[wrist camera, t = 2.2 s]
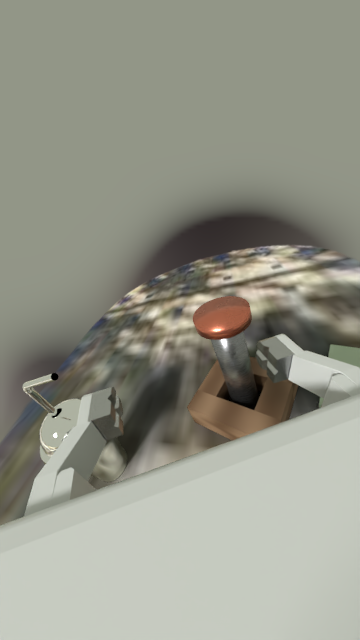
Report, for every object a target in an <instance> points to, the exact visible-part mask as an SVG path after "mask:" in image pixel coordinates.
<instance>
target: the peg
mask: <svg viewBox="0 0 360 640" xmlns="http://www.w3.org/2000/svg"><path fill="white" fill-rule="evenodd" d="M251 320H252V316H251V311H250V306H249V303H248V302H247V301H246V300H245V299H243V298H240V297H234V296H228V297H221V298H217V299H214V300H211V301H209V302H207V303H205V304H203V305H202V306H201V307H199V308H198V309H197V310H196V312H195V313H194V315H193V322H194V324H195V327H196V330H197V332H198V334H199V335H201V336H202V337H204V338H206V339H211V342H212V344H213V347H214V350H215V353H216V356H217V359H218V362H219V365H220V368H221V371H222V374H223V377H224V380H225V382H226V385H227V388H228V391H229V394H230V397H231V400H232V402H233V403H235V404H238V405H241V406H243V407H246V408H249V409H252V410H255V407H256V405H257V402H258V400H259V396H258V392H257V387H256V383H255V379H254V374H253V370H252V366H251V361H250V357H249V353H248V348H247V344H246V339H245V335H244V330H245V329H246V328H247V327H248V326H249V325H250V323H251Z"/></svg>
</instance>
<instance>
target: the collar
mask: <svg viewBox="0 0 360 640" xmlns="http://www.w3.org/2000/svg"><path fill="white" fill-rule="evenodd" d="M250 361H251V366H252V370H253V374H254V379H255V383H256V387H257V391H261V395H260V397H259V400H258V402H257V405H256V407H255V410H252V409H249V408H246V407H243V406H241V405H238V404H235V403H233V402H230V401H228V400H229V398H230V394H229V391H228V388H227V385H226V382H225V380H224V377H223V374H222V371H221V368H220V365H219V362H218V359H217V361H216V362H215V364H214V365H213V367H212V369H211V370H210V372H209V373H208V375H207V376H206V378H205V380H204V381H203V383H202V384H201V386H200V388H199V389H198V391H197V392H196V394H195V395H194V397H193V399H192V400H191V402H190V403H189V405H188V407H187V408H188V410H189V412H190V413H191V415H192V417H193V419H194V421H195V422H196V423H198V424H200V425H202V426H204V427H206V428H208V429H210V430H212V431H214V432H216V433H218V434H220V435H222V436H224V437H226V438H228V439H230V440H235V439H238V438H240V437H243V436H246V435H249V434H251V433H254V432H257V431H260V430H262V429H265V428H268V427H271V426H273V425H276V424H279V423H281V422H284V421H287V420H289V417H290V413H291V410H292V406H293V403H294V399H295V396H296V392H297V388H298V385H297V384H295V383H293V382H292V381H290V380H288V379H286V380H283V381H280V382H277V383H273V382H272V380H271V379H270V378H269V377H268V376H267V371H266V370H264V369H262V368H261V367H260V366H259V364H258V362H257V359H256V358H254V357H250Z"/></svg>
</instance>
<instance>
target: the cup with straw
mask: <svg viewBox="0 0 360 640" xmlns="http://www.w3.org/2000/svg"><path fill="white" fill-rule="evenodd" d="M57 379H58V375H57V374H56V373H53V374H50V375H47V376H44V377H41V378H38V379H35V380H32V381H28V382H26V383H24V384H23V390H24V391H25V392H26V393H27V394H28V395H29V396H30V397H32V398H33V399H34V400H35V401H36V402H37V403H38V404H39V405H41V406H42V407H43V408H44V409H45V410H46V411H47V412H49V413H48V414H47V416H46V417H45V419H44V421H43V422H42V425H41V428H40V433H39V438H40V443H41V446H40V456H41V459H42V460H43V461H44V463H45V464H46V463H47V462H48V461H49V459H50V458H51V456H52V455H53V454H54V452H55V451H56V450H57V448H58V447H59V446H60V444H61V443H62V442H63V440H64V439H65V438H66V436H67V435H68V434H69V432H70V431H71V430H72V428H73V427H75V426H77V420H78V415H79V409H80V404H81V399H82V398H72V399H68V400H65V401H63V402H61V403H59V404H58V405H56V406H55V407H53V406H52V405H51V404H50V403H49V402H48V401H47V400H45V399H44V398H43V397H42V396H41V395H40V394H39V393H38V392H37V391H35V389H33V388H32V387H35V386H38V385H41V384H45V383H48V382H52V381H55V380H57ZM126 464H127V453H126V451H125V450H124V449H123V447H122V445H121V444H120V442H119V441H118V439H117V438H116V437H115V438H113V439H110V440H107V441H106V444H105V446H104V449H103V451H102V453H101V455H100V457H99V459H98V461H97V463H96V465H95V467H94V469H93V471H92V474H91V476H93V477H95V478H97V479H99V480H102V481H104V482H107V483H109V482H112V481H114V480H116V479H117V478H118V477H119V476H120V475H121V474H122V473H123V471H124V469H125V467H126Z"/></svg>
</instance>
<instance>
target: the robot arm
mask: <svg viewBox="0 0 360 640" xmlns="http://www.w3.org/2000/svg"><path fill="white" fill-rule="evenodd" d="M256 347H257V348H258V351H257V352H256V359H257V362H258V364H259V366H260V367H261V368H262V369H264V370H266V371H267V376H268V377H269V378H270V379H271V380H272V382H273V383H277V382H280V381H283V380H286V379H288V380H290V381H292V382H293V383H295V384H297V385H299V386H301V387H303V388H305V389H307V390H308V391H310V392H312V393H314V394H316V395H318V396H320V397H322V398H323V399H324V400H323V403H322V405H321V408H320V409H317V410H314V411H312V412H309V413H306V414H303V415H301V416H298V417H295V418H292V419H290V420H287V421H284V422H281V423H279V424H276V425H273V426H271V427H268V428H265V429H262V430H260V431H257V432H254V433H251V434H249V435H246V436H243V437H240V438H238V439H235V440H232V441H230V442H227V443H224V444H221V445H219V446H216V447H213V448H210V449H208V450H205V451H202V452H199V453H197V454H194V455H191V456H189V457H186V458H183V459H180V460H178V461H175V462H172V463H170V464H167V465H164V466H161V467H159V468H156V469H153V470H150V471H148V472H145V473H142V474H140V475H137V476H134V477H131V478H129V479H126V480H123V481H120V482H118V483H115V484H112V485H109V486H107V487H104V488H101V489H99V490H96V489H95V488H94V487H93V486H92V485H90V484H89V483H88V480H89V478H90V476H91V474H92V471H93V469H94V467H95V465H96V463H97V461H98V459H99V457H100V455H101V453H102V451H103V449H104V446H105V444H106V441H107V440H110V439H113V438H115V437H118V436H121V435H123V421H122V420H121V416H122V415H123V408H122V403H121V400H120V398H119V397H118V396H116V391H115V389H114V387H111V388H108V389H104V390H101V391H97V392H94V393H91V394H87V395H84V396H83V397H82V399H81V404H80V409H79V415H78V420H77V426H75V427H73V428H72V430H71V431H70V432H69V434H68V435H67V436H66V438H65V439H64V440H63V442H62V443H61V444H60V446H59V447H58V448H57V450H56V451H55V452H54V454H53V455H52V456H51V458H50V459H49V461H48V462H47V463H46V465H45V466H44V467H43V469H42V470H41V471H40V473H39V474H38V475H37V477H36V478H35V480H34V484H33V487H32V490H31V494H30V497H29V501H28V504H27V508H26V511H25V514H24V517H22V518H19V519H17V520H14V521H11V522H8V523H6V524H3V525H0V640H360V368H359V367H357V366H354V365H350V364H347V363H344V362H341V361H338V360H335V359H331V358H328V357H325V356H322V355H319V354H316V353H313V352H309V351H303V350H302V349H301V348H300V347H299V346H297V345H296V344H295V343H294V342H293V341H292V340H290V339H289V338H288V337H287V336H286V335H284V334H280V335H277V336H274V337H271V338H267V339H264V340H261V341H258V342H257V345H256Z"/></svg>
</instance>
